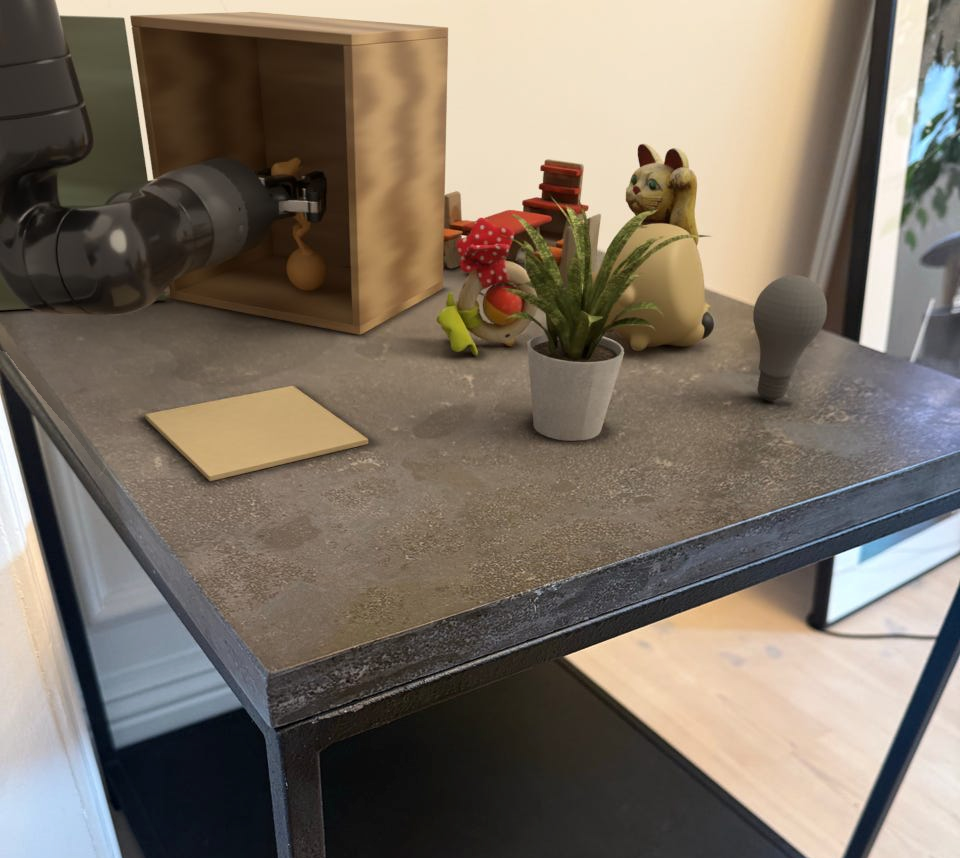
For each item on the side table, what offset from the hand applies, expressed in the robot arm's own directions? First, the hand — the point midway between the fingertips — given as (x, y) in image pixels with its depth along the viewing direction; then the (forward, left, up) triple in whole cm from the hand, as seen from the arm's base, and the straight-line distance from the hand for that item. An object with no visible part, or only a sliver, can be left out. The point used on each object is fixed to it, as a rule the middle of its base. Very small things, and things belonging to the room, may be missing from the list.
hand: (300, 180), depth 92 cm
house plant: (+36, -19, -11) cm, 42 cm away
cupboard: (0, 0, -11) cm, 11 cm away
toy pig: (+35, +3, -11) cm, 37 cm away
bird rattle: (+22, -6, -11) cm, 26 cm away
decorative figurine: (+32, +17, -11) cm, 38 cm away
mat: (+15, -32, -11) cm, 37 cm away
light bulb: (+48, -6, -11) cm, 50 cm away
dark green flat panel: (-20, -15, -11) cm, 27 cm away
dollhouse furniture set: (+14, +24, -11) cm, 30 cm away
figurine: (0, -3, -10) cm, 10 cm away
